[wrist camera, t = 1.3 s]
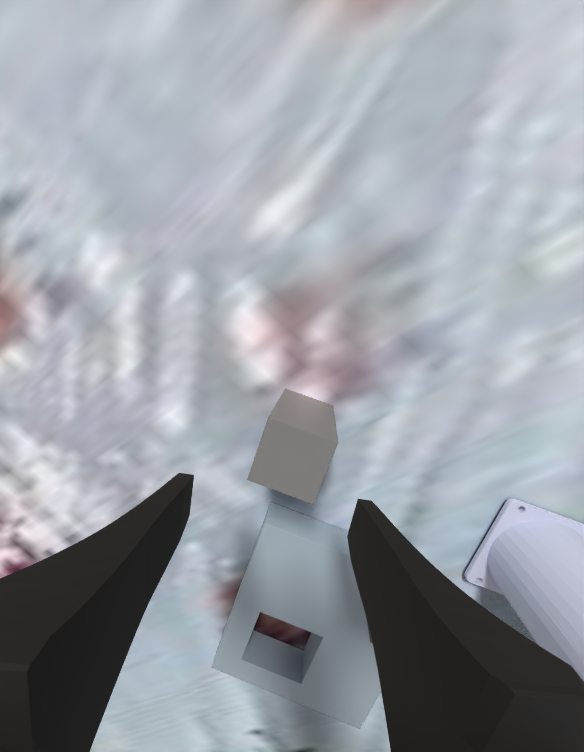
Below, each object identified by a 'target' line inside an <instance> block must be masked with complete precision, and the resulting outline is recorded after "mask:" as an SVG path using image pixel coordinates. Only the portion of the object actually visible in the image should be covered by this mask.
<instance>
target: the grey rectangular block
mask: <svg viewBox="0 0 584 752" xmlns="http://www.w3.org/2000/svg"><path fill="white" fill-rule="evenodd" d="M337 445H338V438H337V431H336V423H335V416H334V409H333V405H330V404H327V403H324V402H321V401H319V400H316V399H313V398H310V397H307V396H305V395H302V394H299V393H296V392H294V391H291V390H288V389H285V390H284V392H283V394H282V395H281V397H280V399H279V400H278V402H277V404H276V405H275V407H274V409H273V410H272V412H271V414H270V415H269V417H268V420H267V423H266V426H265V429H264V432H263V435H262V438H261V441H260V443H259V446H258V449H257V452H256V455H255V458H254V461H253V464H252V467H251V470H250V473H249V476H248V479H247V480H249V481H252V482H255V483H257V484H260V485H262V486H265V487H268V488H270V489H273V490H276V491H278V492H281V493H284V494H286V495H289V496H292V497H294V498H297V499H300V500H302V501H305V502H307V503H310V504H314V501H315V499H316V496H317V494H318V491H319V489H320V487H321V484H322V482H323V479H324V477H325V474H326V472H327V469H328V467H329V464H330V462H331V459H332V457H333V454H334V452H335V450H336V447H337Z"/></svg>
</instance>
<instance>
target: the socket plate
mask: <svg viewBox="0 0 584 752" xmlns="http://www.w3.org/2000/svg"><path fill="white" fill-rule="evenodd" d="M347 535H348V531H346V530H343V529H340V528H338V527H335V526H332V525H330V524H327V523H325V522H322V521H319V520H317V519H314V518H311V517H309V516H306V515H304V514H301V513H298V512H296V511H293V510H290V509H288V508H285V507H282V506H280V505H277V504H275V503H272V502H271V503H270V506H269V508H268V511H267V514H266V517H265V519H264V522H263V525H262V527H261V530H260V533H259V536H258V538H257V541H256V544H255V547H254V549H253V552H252V555H251V558H250V560H249V563H248V566H247V568H246V571H245V574H244V577H243V579H242V582H241V585H240V588H239V590H238V593H237V596H236V598H235V601H234V604H233V607H232V609H231V612H230V615H229V618H228V620H227V623H226V626H225V629H224V631H223V634H222V637H221V640H220V643H219V646H218V649H217V652H216V655H215V658H214V661H213V664H212V668H214V669H216V670H219V671H221V672H223V673H226V674H228V675H231V676H233V677H236V678H238V679H240V680H243V681H245V682H248V683H250V684H253V685H255V686H257V687H260V688H262V689H265V690H267V691H269V692H272V693H274V694H277V695H279V696H282V697H284V698H286V699H289V700H291V701H294V702H296V703H299V704H301V705H303V706H306V707H308V708H311V709H313V710H315V711H318V712H320V713H323V714H325V715H328V716H330V717H332V718H335V719H337V720H340V721H342V722H345V723H347V724H349V725H352V726H354V727H357V728H359V729H360V728H361V726H362V724H363V723H364V721H365V719H366V717H367V716H368V714H369V712H370V710H371V708H372V707H373V705H374V703H375V701H376V700H377V698H378V696H379V694H380V692H381V686H380V680H379V675H378V669H377V664H376V659H375V653H374V648H373V643H372V638H371V634H370V630H369V626H368V622H367V618H366V615H365V611H364V607H363V604H362V600H361V597H360V593H359V589H358V586H357V582H356V578H355V575H354V571H353V567H352V563H351V558H350V552H349V546H348V539H347ZM260 612H262V613H264V614H267V615H269V616H272V617H274V618H277V619H279V620H282V621H284V622H287V623H289V624H292V625H294V626H297V627H299V628H302V629H304V630H307V631H309V632H312V633H311V635H310V637H309V639H308V641H307V643H306V646H305V648H304V650H301V649H299V648H296V647H294V646H291V645H289V644H286V643H284V642H281V641H279V640H276V639H274V638H271V637H269V636H266V635H264V634H262V633H259V632H257V631H254V630H253V629H254V626H255V624H256V621H257V618H258V616H259V613H260Z"/></svg>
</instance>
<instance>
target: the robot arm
mask: <svg viewBox="0 0 584 752" xmlns="http://www.w3.org/2000/svg"><path fill="white" fill-rule="evenodd" d="M193 479H194V475H190V474H183V473H179V474H177V475H176V476H175V477H173V478H172V479H171V480H170V481H168V482H167V483H166V484H165V485H163V486H162V487H161V488H160V489H158V490H157V491H156V492H155V493H153V494H152V495H151V496H149V497H148V498H147V499H145V500H144V501H143V502H141V503H140V504H139V505H137V506H136V507H134V508H133V509H132V510H130V511H129V512H127V513H126V514H124V515H123V516H121V517H120V518H118V519H117V520H115V521H114V522H112V523H111V524H109V525H108V526H106V527H104V528H103V529H101V530H99V531H98V532H96V533H94V534H93V535H91V536H89V537H87V538H85V539H84V540H82V541H80V542H78V543H76V544H74V545H72V546H70V547H68V548H66V549H64V550H62V551H60V552H58V553H56V554H54V555H52V556H50V557H48V558H46V559H44V560H42V561H40V562H37V563H35V564H33V565H31V566H29V567H26V568H24V569H22V570H19V571H17V572H15V573H12V574H10V575H8V576H5V577H3V578H0V752H89V751H90V749H91V746H92V743H93V741H94V738H95V735H96V733H97V730H98V728H99V725H100V722H101V720H102V717H103V715H104V712H105V709H106V707H107V704H108V702H109V699H110V696H111V694H112V691H113V689H114V686H115V684H116V681H117V678H118V676H119V673H120V671H121V668H122V666H123V663H124V661H125V658H126V656H127V653H128V651H129V648H130V646H131V643H132V641H133V639H134V636H135V634H136V631H137V629H138V626H139V624H140V621H141V619H142V617H143V614H144V612H145V610H146V608H147V606H148V603H149V601H150V599H151V597H152V595H153V593H154V591H155V589H156V587H157V585H158V583H159V581H160V579H161V577H162V575H163V573H164V571H165V569H166V567H167V565H168V563H169V561H170V559H171V557H172V555H173V553H174V551H175V549H176V547H177V545H178V543H179V541H180V539H181V537H182V534H183V531H184V529H185V526H186V523H187V521H188V518H189V515H190V506H191V497H192V488H193ZM521 506H522V507H521ZM519 507H521V508H520V509H518V508H519ZM347 539H348V546H349V552H350V558H351V563H352V567H353V571H354V575H355V578H356V582H357V586H358V589H359V593H360V597H361V600H362V604H363V607H364V611H365V615H366V618H367V622H368V626H369V630H370V634H371V638H372V643H373V648H374V653H375V659H376V664H377V669H378V675H379V680H380V686H381V692H382V698H383V703H384V709H385V715H386V722H387V728H388V735H389V741H390V748H391V752H584V524H583V523H580V522H578V521H575V520H572V519H569V518H567V517H564V516H561V515H558V514H556V513H553V512H550V511H547V510H545V509H542V508H539V507H536V506H534V505H531V504H528V503H525V502H523V501H520V500H517V499H513V498H512V499H508V500H507V501H506V502H505V504H504V506H503V508H502V509H501V511H500V513H499V514H498V516H497V518H496V520H495V521H494V523H493V525H492V526H491V528H490V530H489V532H488V533H487V535H486V537H485V539H484V540H483V542H482V544H481V545H480V547H479V549H478V551H477V552H476V554H475V556H474V557H473V559H472V561H471V563H470V564H469V566H468V568H467V569H466V571H465V574H464V575H465V578H466V579H467V581H468V582H470V583H473V584H475V585H478V586H481V587H483V588H486V589H489V590H491V591H494V592H496V593H499V594H502V595H504V596H505V597H506V599H507V600H508V602H509V603H510V605H511V606H512V608H513V609H514V611H515V612H516V613H517V615H518V616H519V618H520V619H521V621H522V622H523V624H524V625H525V627H526V628H527V630H528V631H529V633H530V634H531V636H532V637H533V639H534V640H535V641H536V643H537V644H538V645H537V644H536V643H534V642H532V641H531V640H529V639H528V638H526V637H525V636H523V635H522V634H520V633H519V632H517V631H516V630H514V629H513V628H512V627H510V626H509V625H507V624H506V623H504V622H503V621H501V620H500V619H499V618H497V617H496V616H495V615H493V614H492V613H490V612H489V611H488V610H486V609H485V608H484V607H482V606H481V605H480V604H479V603H477V602H476V601H475V600H473V599H472V598H471V597H469V596H468V595H467V594H466V593H464V592H463V591H462V590H461V589H460V588H458V587H457V586H456V585H455V584H454V583H452V582H451V581H450V580H449V579H448V578H447V577H446V576H444V575H443V574H442V573H441V572H440V571H439V570H438V569H436V568H435V567H434V566H433V565H432V564H431V563H430V562H429V561H428V560H427V559H426V558H425V557H424V556H423V555H422V554H421V553H420V552H419V551H418V550H417V549H416V548H415V547H414V546H413V545H412V544H411V543H410V542H409V541H408V540H407V539H406V538H405V537H404V536H403V535H402V534H401V533H400V531H399V530H398V529H397V528H396V527H395V526H394V525H393V524H392V523H391V522H390V520H389V519H388V518H387V517H386V516H385V515H384V514H383V513H382V512H381V510H380V509H379V508H378V507H377V506H376V505H375V504H374V503H373V502H372V501H369V500H362V499H358V501H357V504H356V508H355V511H354V515H353V518H352V522H351V525H350V529H349V532H348V535H347ZM477 578H478V579H477Z"/></svg>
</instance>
